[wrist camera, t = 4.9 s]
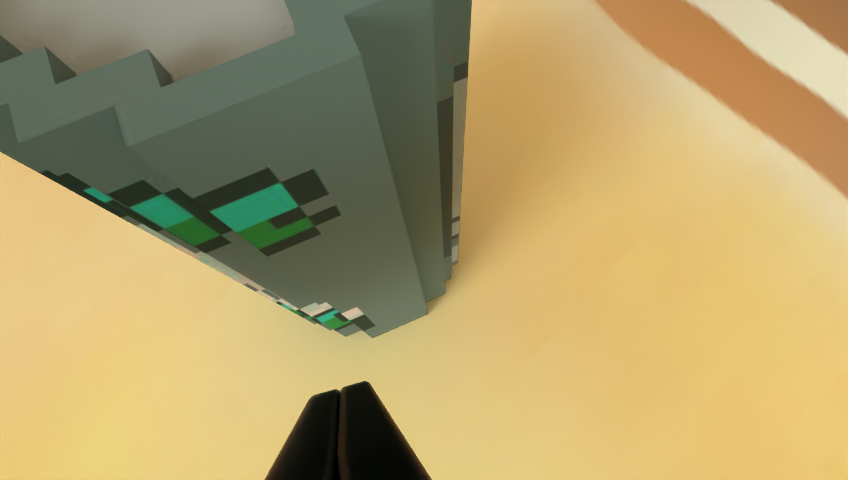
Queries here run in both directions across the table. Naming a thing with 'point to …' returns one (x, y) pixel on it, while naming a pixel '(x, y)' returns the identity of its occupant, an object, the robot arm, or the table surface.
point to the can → (258, 137)
